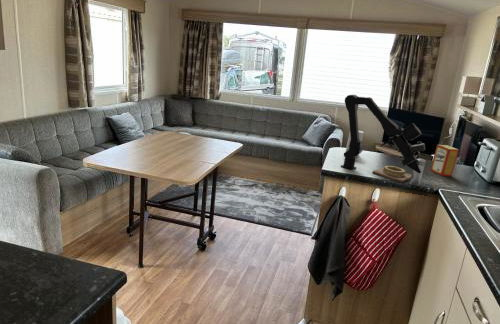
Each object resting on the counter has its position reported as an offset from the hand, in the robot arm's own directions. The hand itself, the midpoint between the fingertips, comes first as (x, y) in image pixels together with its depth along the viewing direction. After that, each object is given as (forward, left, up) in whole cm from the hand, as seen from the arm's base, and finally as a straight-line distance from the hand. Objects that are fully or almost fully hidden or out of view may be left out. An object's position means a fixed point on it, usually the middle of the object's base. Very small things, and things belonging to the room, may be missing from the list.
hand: (420, 171), depth 180 cm
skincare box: (+20, +48, -7) cm, 53 cm away
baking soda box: (+39, +1, -7) cm, 39 cm away
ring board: (+4, +14, -7) cm, 16 cm away
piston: (0, +1, -7) cm, 7 cm away
